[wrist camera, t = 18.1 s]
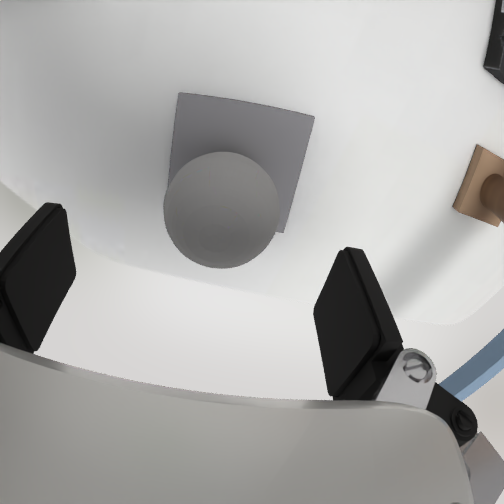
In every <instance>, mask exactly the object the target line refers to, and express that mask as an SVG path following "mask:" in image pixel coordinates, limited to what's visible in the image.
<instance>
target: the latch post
mask: <svg viewBox="0 0 504 504" xmlns="http://www.w3.org/2000/svg"><path fill="white" fill-rule="evenodd" d="M453 208H454V209H455V210H457V211H458V212H459V213H462V214H465V215H468V216H470V217H473V218H476V219H478V220H481V221H484V222H486V223H489V224H491V225H494V226H496V227H498V226H499V224H500V222H501V221H502V222H503V223H504V160H503V159H502V158H500V157H498V156H497V155H495V154H493V153H491V152H490V151H488V150H486V149H485V148H483V147H481V146H479V145H477V146H476V149H475V151H474V154H473V157H472V160H471V162H470V165H469V168H468V170H467V173H466V176H465V178H464V181H463V183H462V186H461V188H460V190H459V193H458V195H457V197H456V200H455V202H454V204H453Z"/></svg>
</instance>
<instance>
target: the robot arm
mask: <svg viewBox="0 0 504 504" xmlns="http://www.w3.org/2000/svg"><path fill="white" fill-rule="evenodd" d="M75 276H76V267H75V262H74V257H73V252H72V246H71V241H70V234H69V227H68V220H67V213H66V210H65V209H63V207H62V205H61V204H57V203H48V202H47V203H45V204H44V205H43V206H42V207H41V208H40V209H39V210H38V211H37V212H36V213H35V214H34V215H33V216H32V217H31V218H30V219H29V220H28V222H26V223H25V224H24V226H23V227H22V228H21V229H20V230H19V231H18V232H17V233H16V234H15V236H14V237H13V238H12V239H11V240H10V241H9V242H8V244H7V245H6V246H5V247H4V248H3V250H2V251H1V252H0V504H495V502H496V501H497V499H498V497H499V496H500V494H501V493H502V491H503V489H504V461H503V459H502V458H501V457H500V455H499V454H498V453H497V451H496V450H495V449H494V447H493V446H492V445H491V444H490V442H489V441H488V440H487V438H486V437H485V436H484V435H483V433H482V432H479V433H477V427H478V426H477V419H476V417H475V415H474V413H473V411H472V410H471V409H470V408H469V407H468V406H467V405H465V404H464V403H463V402H461V401H460V400H459V399H457V398H456V397H455V396H453V395H452V394H451V393H449V392H448V391H447V390H445V389H444V388H443V387H441V386H440V385H439V384H437V383H436V382H435V381H436V375H437V373H436V368H435V366H434V364H433V362H432V360H431V359H430V358H429V357H428V356H427V355H426V354H425V353H423V352H421V351H419V350H417V349H413V348H409V349H405V350H404V348H403V345H402V342H403V340H402V338H401V335H400V333H399V330H398V328H397V325H396V323H395V320H394V318H393V316H392V313H391V311H390V308H389V306H388V304H387V301H386V299H385V297H384V294H383V292H382V290H381V288H380V285H379V283H378V281H377V279H376V277H375V274H374V272H373V270H372V268H371V266H370V264H369V261H368V259H367V257H366V255H365V253H364V251H363V250H362V249H357V248H351V247H346V248H345V249H344V250H340V251H339V252H338V254H337V257H336V259H335V261H334V264H333V266H332V268H331V270H330V273H329V275H328V277H327V280H326V282H325V284H324V286H323V289H322V291H321V293H320V295H319V297H318V299H317V302H316V304H315V306H314V313H313V315H314V320H315V325H316V330H317V335H318V341H319V346H320V351H321V357H322V362H323V367H324V373H325V379H326V384H327V390H328V393H329V395H330V396H333V401H332V400H331V401H330V400H293V399H271V398H255V397H244V396H233V395H223V394H214V393H206V392H198V391H191V390H184V389H177V388H171V387H165V386H159V385H153V384H148V383H143V382H138V381H133V380H128V379H123V378H119V377H114V376H110V375H106V374H102V373H97V372H93V371H89V370H85V369H82V368H78V367H74V366H71V365H67V364H64V363H60V362H57V361H53V360H50V359H47V358H44V357H41V356H38V355H35V354H33V353H34V351H37V350H38V349H39V348H40V345H41V343H42V341H43V339H44V337H45V335H46V333H47V331H48V329H49V327H50V324H51V323H52V321H53V319H54V317H55V315H56V313H57V311H58V309H59V307H60V305H61V303H62V301H63V299H64V298H65V296H66V294H67V292H68V290H69V288H70V287H71V285H72V283H73V281H74V279H75Z"/></svg>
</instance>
